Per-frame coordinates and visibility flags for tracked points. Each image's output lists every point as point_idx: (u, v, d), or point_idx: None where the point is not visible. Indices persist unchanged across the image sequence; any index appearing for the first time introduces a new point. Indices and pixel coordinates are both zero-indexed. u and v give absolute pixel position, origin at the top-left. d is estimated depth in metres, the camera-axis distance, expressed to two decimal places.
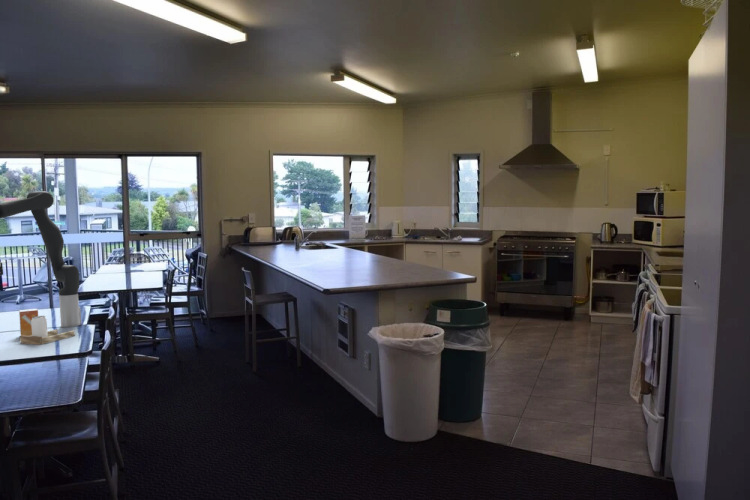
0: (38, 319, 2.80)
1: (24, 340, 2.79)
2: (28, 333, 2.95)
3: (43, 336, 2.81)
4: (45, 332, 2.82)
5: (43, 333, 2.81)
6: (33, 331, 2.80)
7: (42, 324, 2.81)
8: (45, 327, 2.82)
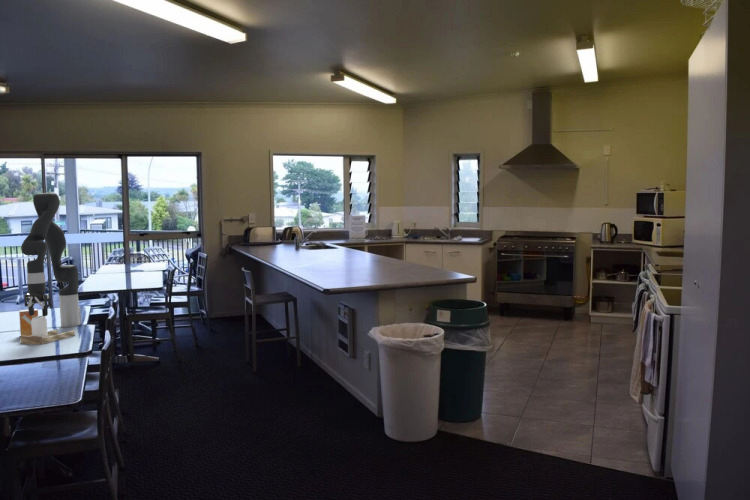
0: (38, 319, 2.80)
1: (24, 340, 2.79)
2: (28, 333, 2.95)
3: (43, 336, 2.81)
4: (45, 332, 2.82)
5: (43, 333, 2.81)
6: (33, 331, 2.80)
7: (42, 324, 2.81)
8: (45, 327, 2.82)
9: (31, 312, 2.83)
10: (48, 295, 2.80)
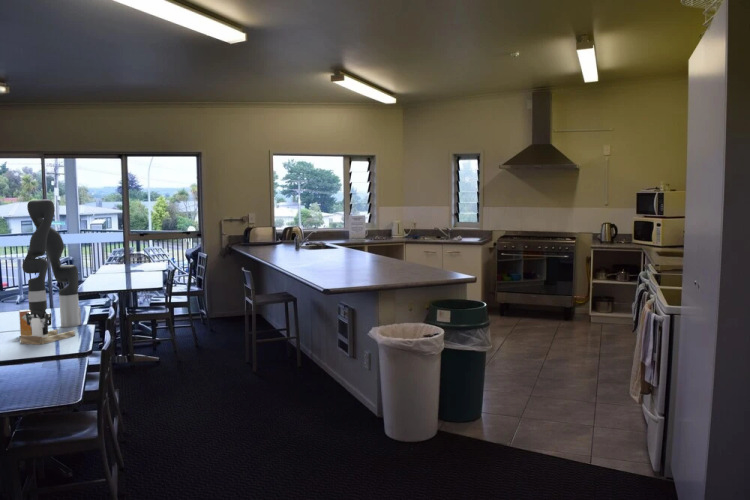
0: (38, 319, 2.80)
1: (24, 340, 2.79)
2: (28, 333, 2.95)
3: (43, 336, 2.81)
4: None
5: None
6: (33, 331, 2.80)
7: None
8: None
9: None
10: (49, 314, 2.80)
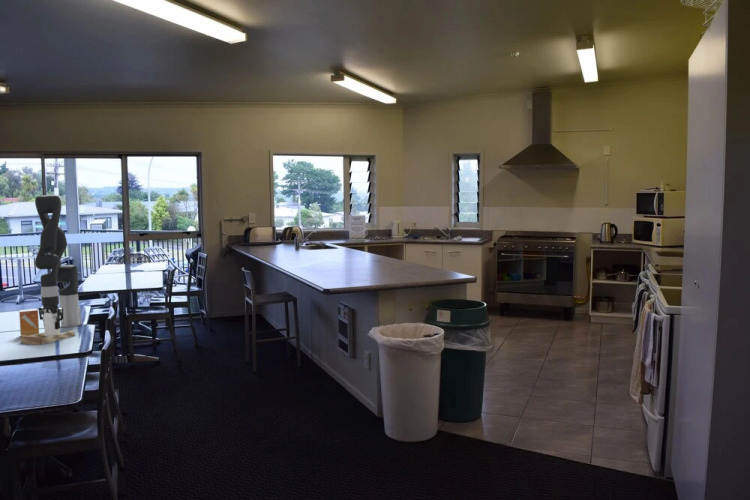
0: (50, 314, 2.87)
1: (24, 340, 2.79)
2: (28, 333, 2.95)
3: (55, 330, 2.88)
4: None
5: None
6: (45, 325, 2.87)
7: None
8: None
9: None
10: (61, 309, 2.87)
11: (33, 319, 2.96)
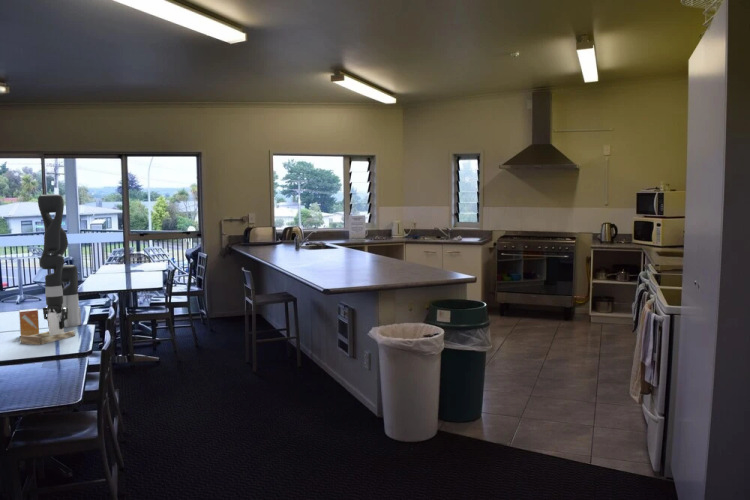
0: (55, 313, 2.89)
1: (24, 340, 2.79)
2: (28, 333, 2.95)
3: (60, 330, 2.90)
4: None
5: None
6: (50, 325, 2.89)
7: None
8: None
9: None
10: (66, 309, 2.89)
11: (33, 319, 2.96)
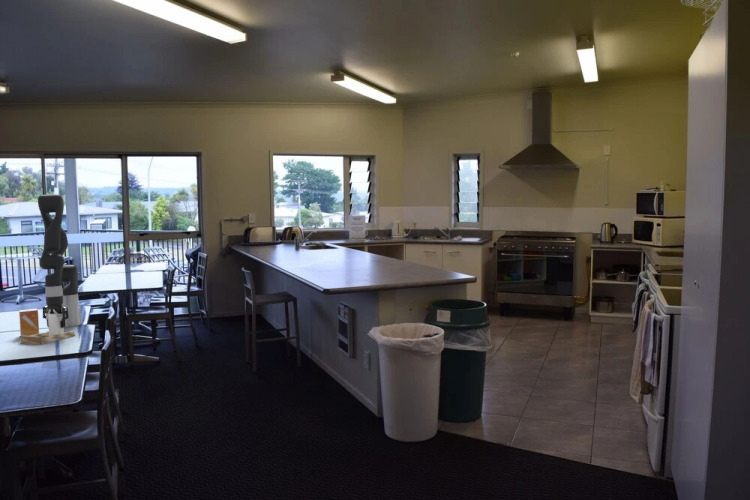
0: (55, 315, 2.89)
1: (24, 340, 2.79)
2: (28, 333, 2.95)
3: (59, 331, 2.90)
4: None
5: (59, 328, 2.90)
6: (50, 326, 2.89)
7: (58, 320, 2.90)
8: None
9: None
10: (66, 308, 2.89)
11: (33, 319, 2.96)
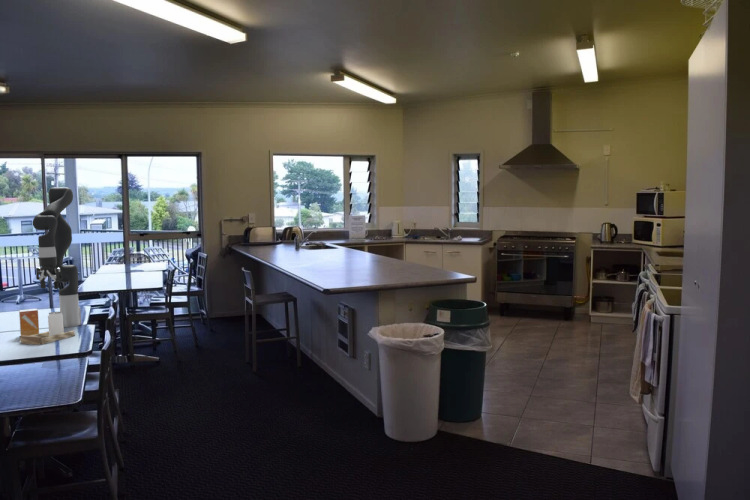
0: (55, 315, 2.89)
1: (24, 340, 2.79)
2: (28, 333, 2.95)
3: (59, 331, 2.90)
4: (61, 327, 2.91)
5: (59, 328, 2.90)
6: (50, 326, 2.89)
7: (58, 320, 2.90)
8: (61, 322, 2.91)
9: (43, 285, 2.93)
10: (59, 268, 2.89)
11: (33, 319, 2.96)
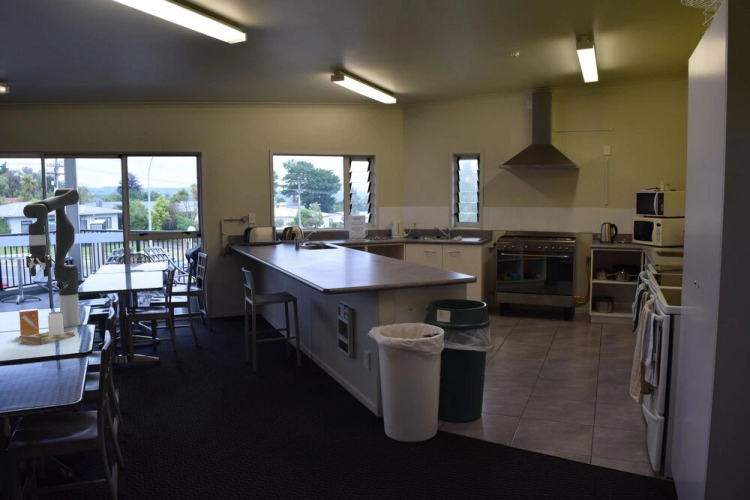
0: (55, 315, 2.89)
1: (24, 340, 2.79)
2: (28, 333, 2.95)
3: (59, 331, 2.90)
4: (61, 327, 2.91)
5: (59, 328, 2.90)
6: (50, 326, 2.89)
7: (58, 320, 2.90)
8: (61, 322, 2.91)
9: (33, 273, 2.95)
10: (49, 256, 2.92)
11: (33, 319, 2.96)
